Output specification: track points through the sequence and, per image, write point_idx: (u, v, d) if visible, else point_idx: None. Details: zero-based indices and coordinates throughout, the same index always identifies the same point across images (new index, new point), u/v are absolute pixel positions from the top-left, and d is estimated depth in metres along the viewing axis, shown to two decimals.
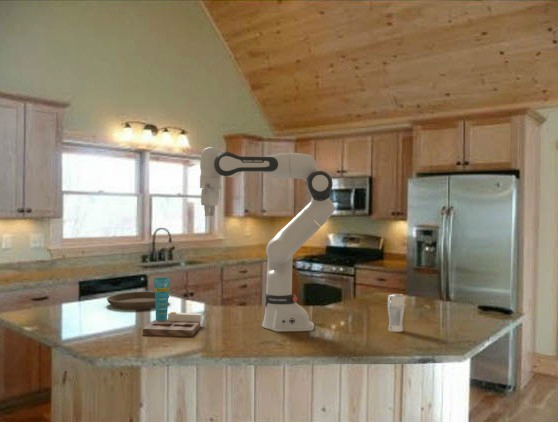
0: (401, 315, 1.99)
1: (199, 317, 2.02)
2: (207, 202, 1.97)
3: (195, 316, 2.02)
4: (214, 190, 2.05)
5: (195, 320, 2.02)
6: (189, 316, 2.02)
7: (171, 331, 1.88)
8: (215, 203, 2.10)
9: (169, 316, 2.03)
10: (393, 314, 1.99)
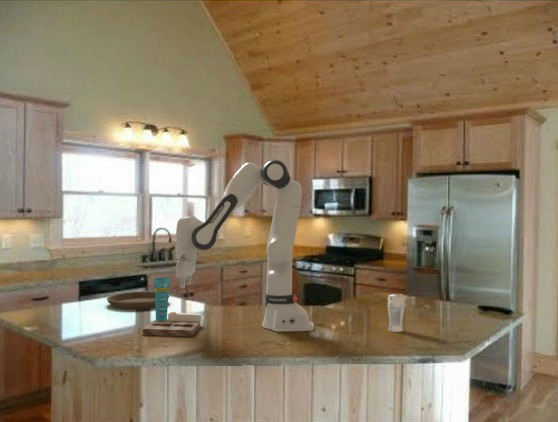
0: (401, 315, 1.99)
1: (199, 317, 2.02)
2: (182, 276, 1.94)
3: (195, 316, 2.02)
4: (190, 261, 2.02)
5: (195, 320, 2.02)
6: (189, 316, 2.02)
7: (171, 331, 1.88)
8: (191, 272, 2.07)
9: (169, 316, 2.03)
10: (393, 314, 1.99)
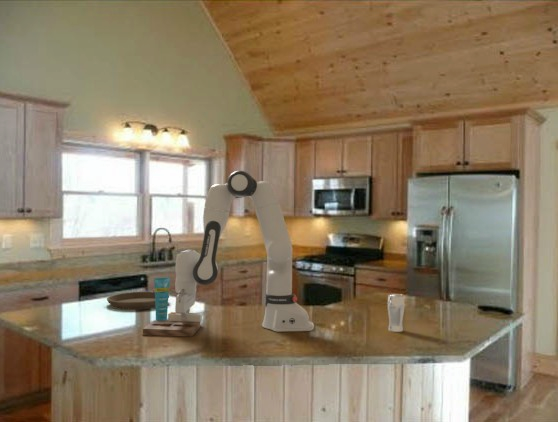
0: (401, 315, 1.99)
1: (199, 317, 2.02)
2: (181, 311, 1.94)
3: (195, 316, 2.02)
4: (189, 294, 2.02)
5: (195, 320, 2.02)
6: (189, 316, 2.02)
7: (171, 331, 1.88)
8: (191, 305, 2.07)
9: (169, 316, 2.03)
10: (393, 314, 1.99)
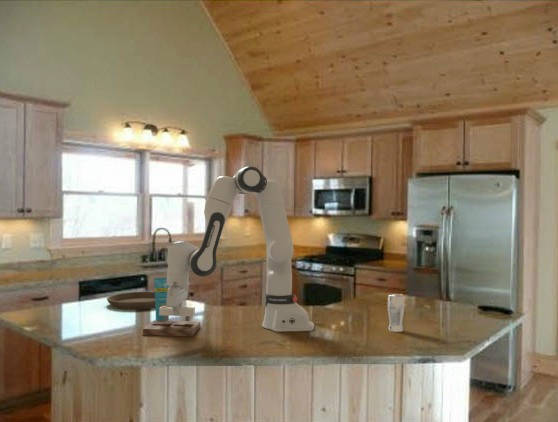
0: (401, 315, 1.99)
1: (192, 311, 1.93)
2: (173, 304, 1.85)
3: (187, 310, 1.93)
4: (182, 287, 1.93)
5: (187, 314, 1.93)
6: (181, 310, 1.93)
7: (171, 331, 1.88)
8: (184, 298, 1.98)
9: (160, 310, 1.94)
10: (393, 314, 1.99)
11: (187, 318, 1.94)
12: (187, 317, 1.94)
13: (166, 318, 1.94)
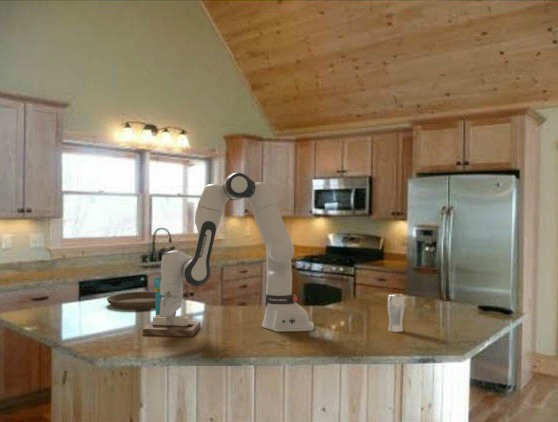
0: (401, 315, 1.99)
1: (185, 321, 1.93)
2: (166, 314, 1.85)
3: (181, 320, 1.93)
4: (175, 297, 1.93)
5: (181, 324, 1.93)
6: (175, 320, 1.93)
7: (171, 331, 1.88)
8: (177, 308, 1.98)
9: (154, 319, 1.94)
10: (393, 314, 1.99)
11: None
12: None
13: None
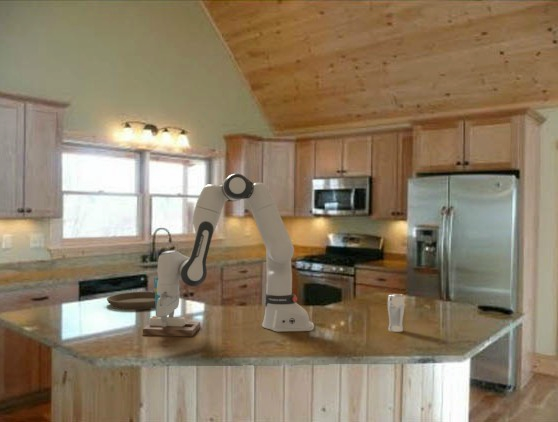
0: (401, 315, 1.99)
1: (182, 321, 1.93)
2: (163, 314, 1.85)
3: (178, 320, 1.93)
4: (172, 297, 1.93)
5: (178, 324, 1.93)
6: (171, 320, 1.94)
7: (171, 331, 1.88)
8: (174, 308, 1.99)
9: (151, 320, 1.94)
10: (393, 314, 1.99)
11: None
12: None
13: None
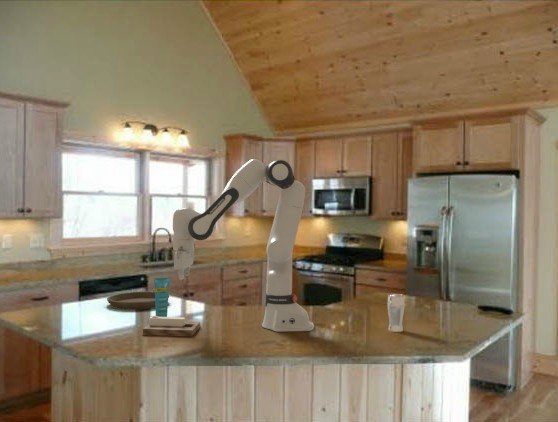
0: (401, 315, 1.99)
1: (182, 321, 1.93)
2: (180, 267, 1.93)
3: (178, 320, 1.93)
4: (188, 252, 2.01)
5: (178, 324, 1.93)
6: (171, 320, 1.94)
7: (171, 331, 1.88)
8: (190, 263, 2.07)
9: (151, 320, 1.94)
10: (393, 314, 1.99)
11: None
12: None
13: None
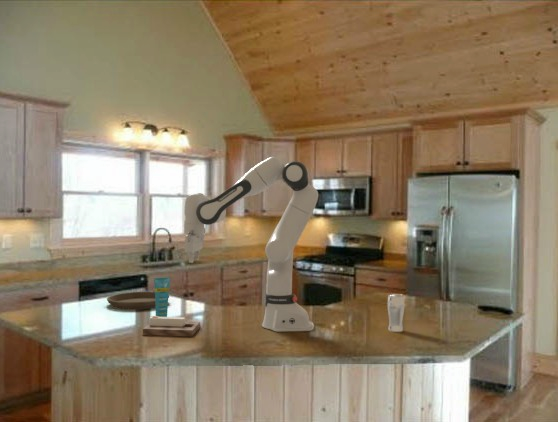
0: (401, 315, 1.99)
1: (182, 321, 1.93)
2: (190, 250, 1.99)
3: (178, 320, 1.93)
4: (198, 236, 2.07)
5: (178, 324, 1.93)
6: (171, 320, 1.94)
7: (171, 331, 1.88)
8: (199, 248, 2.13)
9: (151, 320, 1.94)
10: (393, 314, 1.99)
11: None
12: None
13: None
